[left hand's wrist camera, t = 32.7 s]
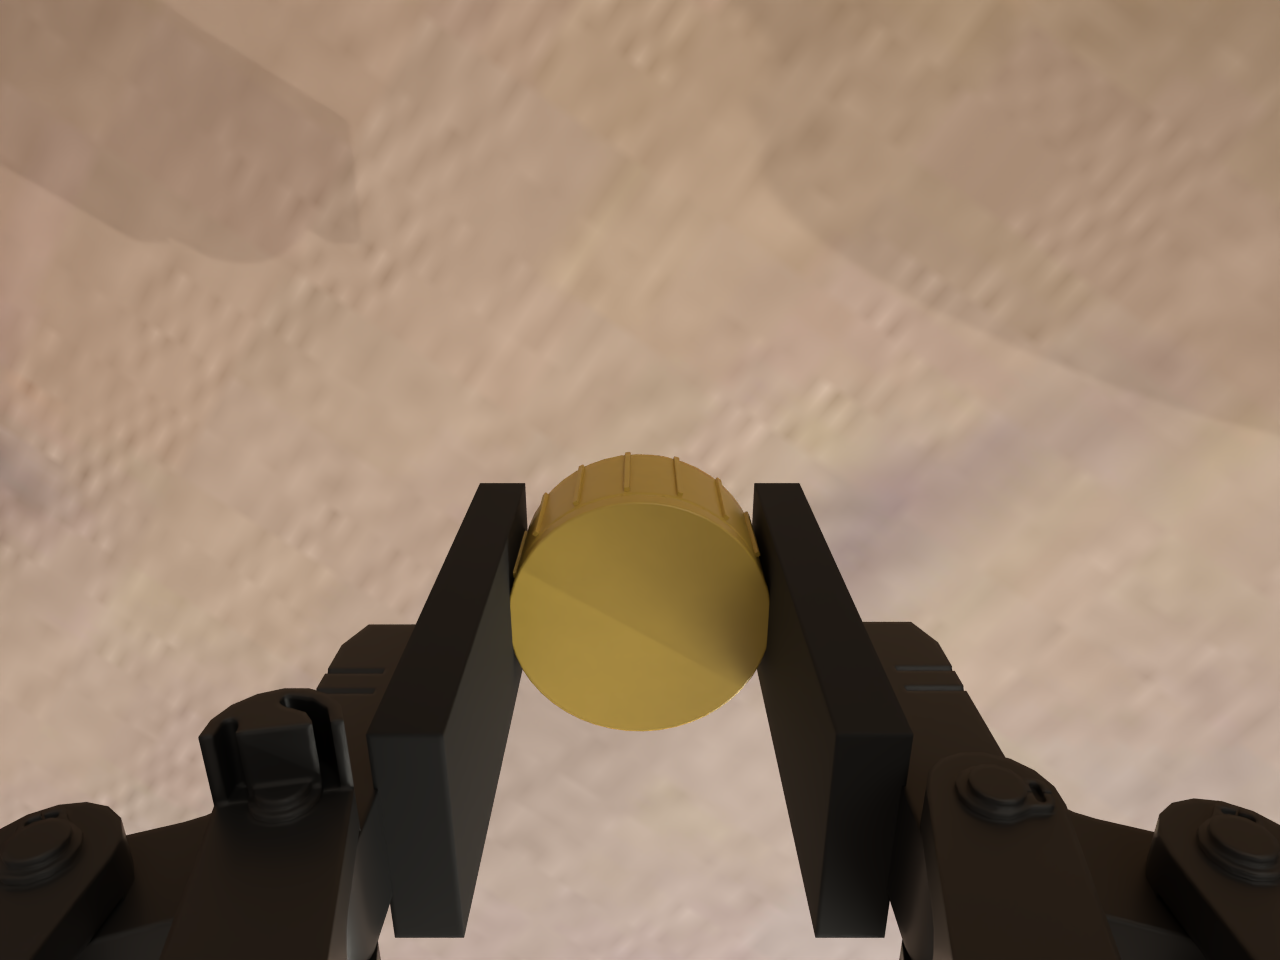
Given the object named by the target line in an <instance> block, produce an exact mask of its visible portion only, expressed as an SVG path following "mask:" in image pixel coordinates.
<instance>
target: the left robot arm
mask: <svg viewBox="0 0 1280 960" xmlns="http://www.w3.org/2000/svg"><path fill="white" fill-rule="evenodd" d="M752 527H753V530H754V534H755V537H756V541H757V544H758V548H759V551H760V555H761V556H759V558H760V562H761V565H762V569H763V573H764V576H765V580H766V583H767V587H768V591H769V617H768V632H767V646H766V651H765V653H764V655H763V658H762V660H761V662H760V664H759V666H758V667H757V672H758V676H759V681H760V685H761V690H762V695H763V699H764V704H765V708H766V713H767V717H768V722H769V727H770V731H771V736H772V740H773V745H774V750H775V754H776V759H777V763H778V768H779V773H780V777H781V782H782V786H783V791H784V796H785V800H786V805H787V809H788V814H789V818H790V823H791V828H792V832H793V837H794V841H795V846H796V851H797V855H798V860H799V864H800V869H801V874H802V878H803V883H804V887H805V892H806V896H807V901H808V906H809V910H810V915H811V919H812V924H813V929H814V933H815V938H884V937H885V930H886V923H887V916H888V909H889V902H891V905H892V908H893V911H894V914H895V918H896V921H897V924H898V927H899V930H900V933H901V936H902V946H901V952H900V959H899V960H1280V825H1279V824H1277V823H1275V822H1273V821H1271V820H1269V819H1267V818H1265V817H1263V816H1261V815H1260V814H1258V813H1256V812H1254V811H1251V810H1248V809H1245V808H1242V807H1238V806H1235V805H1232V804H1229V803H1226V802H1223V801H1214V800H1204V799H1189V800H1184V801H1179V802H1174V803H1171V804H1170V805H1169V806H1168V807H1167V808H1166V809H1165V810H1164V811H1163V812H1161V813H1160V814H1159V818H1158V821H1157V825H1156V828H1155V832H1152V831H1147V830H1143V829H1139V828H1134V827H1130V826H1125V825H1121V824H1117V823H1112V822H1108V821H1103V820H1099V819H1095V818H1092V817H1088V816H1085V815H1082V814H1078V813H1075V812H1072V811H1070V810H1068V809H1067V806H1066V804H1065V803H1064V801H1063V799H1062V798H1061V796H1060V795H1059V793H1058V792H1057V790H1056V788H1055V787H1054V786H1053V785H1052V784H1051V783H1049V782H1048V781H1047V780H1046V779H1044V778H1043V777H1042V776H1041V775H1040V774H1038V773H1037V772H1036V771H1035V770H1033V769H1030V768H1028V767H1026V766H1024V765H1022V764H1020V763H1018V762H1016V761H1014V760H1012V759H1009V758H1005V756H1004V754H1003V753H1002V751H1001V749H1000V748H999V746H998V744H997V742H996V741H995V739H994V737H993V736H992V734H991V732H990V731H989V729H988V727H987V725H986V724H985V722H984V720H983V719H982V717H981V715H980V713H979V712H978V710H977V708H976V707H975V705H974V703H973V701H972V700H971V698H970V696H969V695H968V693H967V691H964V689H963V684H962V683H961V681H960V679H959V678H958V676H957V674H956V672H955V671H952V666H951V664H950V662H949V660H948V659H947V657H946V655H945V654H944V652H943V650H942V648H941V647H940V645H939V643H938V642H937V641H935V640H934V639H933V638H931V637H930V636H929V635H928V634H926V633H925V632H924V631H922V630H921V629H920V628H918V627H917V626H916V625H914V624H913V623H912V622H862V620H861V618H860V615H859V613H858V611H857V609H856V607H855V604H854V602H853V600H852V598H851V596H850V593H849V591H848V589H847V587H846V585H845V583H844V580H843V578H842V576H841V574H840V572H839V569H838V567H837V565H836V563H835V561H834V558H833V556H832V554H831V552H830V550H829V547H828V545H827V543H826V541H825V539H824V536H823V534H822V532H821V530H820V528H819V525H818V523H817V521H816V519H815V517H814V514H813V512H812V510H811V508H810V506H809V503H808V501H807V499H806V497H805V495H804V492H803V490H802V488H801V486H800V484H799V483H754V501H753V520H752ZM525 531H528V530H527V511H526V492H525V483H480V485H479V487H478V489H477V491H476V493H475V496H474V498H473V500H472V502H471V504H470V507H469V509H468V511H467V513H466V515H465V518H464V520H463V522H462V524H461V526H460V528H459V531H458V533H457V535H456V537H455V539H454V542H453V544H452V546H451V548H450V550H449V553H448V555H447V557H446V559H445V561H444V564H443V566H442V568H441V570H440V572H439V575H438V577H437V579H436V581H435V583H434V586H433V588H432V590H431V592H430V594H429V597H428V599H427V601H426V603H425V605H424V608H423V610H422V612H421V614H420V616H419V619H418V621H417V623H416V625H368V626H366V627H365V628H364V629H362V630H361V631H360V632H358V633H357V634H356V635H354V636H353V637H352V638H351V639H349V640H348V641H347V642H345V643H344V644H343V645H342V646H341V647H340V649H339V651H338V653H337V654H336V656H335V658H334V659H333V661H332V663H331V665H330V666H329V668H328V674H325V675H324V677H323V678H322V680H321V682H320V684H319V685H318V687H317V691H316V690H313V689H310V688H284V689H279V690H275V691H270V692H265V693H260V694H257V695H254V696H252V697H249V698H247V699H245V700H242V701H240V702H238V703H235V704H233V705H231V706H230V707H228V708H227V709H226V710H224V711H223V712H221V713H220V714H219V715H217V716H216V717H214V718H213V719H212V720H210V722H209V723H208V725H207V726H206V727H205V729H204V730H203V731H202V733H201V734H200V735H199V737H198V738H199V743H200V747H201V751H202V756H203V760H204V764H205V768H206V773H207V777H208V781H209V786H210V790H211V794H212V799H213V803H214V808H213V811H212V813H211V814H208V815H206V816H203V817H199V818H196V819H193V820H190V821H186V822H183V823H178V824H174V825H170V826H165V827H161V828H157V829H152V830H148V831H143V832H139V833H135V834H130V835H126V834H125V831H124V827H123V824H122V820H121V818H120V817H119V816H118V815H117V814H116V813H115V812H114V811H113V810H112V809H111V808H109V807H108V806H103V805H99V804H94V803H89V802H82V803H72V804H63V805H57V806H54V807H50V808H47V809H44V810H41V811H38V812H35V813H31V814H28V815H26V816H24V817H22V818H20V819H18V820H17V821H15V822H13V823H11V824H9V825H7V826H5V827H3V828H1V829H0V960H381V959H380V952H379V946H378V939H379V935H380V932H381V929H382V926H383V923H384V920H385V917H386V914H387V911H388V908H389V905H390V906H391V913H392V920H393V927H394V934H395V938H464V935H465V931H466V926H467V922H468V917H469V912H470V908H471V903H472V899H473V894H474V889H475V885H476V880H477V876H478V871H479V866H480V862H481V857H482V853H483V848H484V844H485V839H486V834H487V830H488V825H489V821H490V816H491V811H492V807H493V802H494V798H495V793H496V788H497V784H498V779H499V775H500V770H501V766H502V761H503V756H504V752H505V747H506V743H507V738H508V733H509V729H510V724H511V720H512V715H513V710H514V706H515V701H516V697H517V692H518V688H519V683H520V678H521V674H522V667H521V665H520V663H519V661H518V659H517V657H516V655H515V653H514V649H513V641H512V626H511V610H510V592H511V589H512V585H513V582H514V577H513V571H514V567H515V564H516V560H517V557H518V553H519V550H520V546H521V543H522V539H523V536H524V532H525Z"/></svg>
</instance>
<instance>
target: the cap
mask: <svg viewBox="0 0 1280 960" xmlns="http://www.w3.org/2000/svg"><path fill="white" fill-rule="evenodd" d="M759 556H761V555H760V551H759V548H758V544H757V541H756V537H755V534H754V530H753V527H752V523H751V520H750V516H749V514H748V512H745V513H744V512H743V510H742V508H741V507H740V505H739V504H738V503H737V501H736V500H735V499H734V497H733V496H732V495H731V494H730V493H729V492H728V491H727V490H726V489H725V488H724V486H723V485H722V483H721V480H720V479H719V478H716V479H714V478H713V477H711V476H710V475H708V474H706V473H705V472H703V471H701V470H700V469H698V468H696V467H694V466H691V465H689V464H687V463H684V462H682V461H679V458H678V457H674V459H671V458H668V457H664V456H656V455H639V454H635V455H631V453H630V452H626V453H625V455H624V456H623V455H621V456H617V457H612V458H608V459H604V460H601V461H598V462H595V463H592V464H589V465H588V466H585V467H584V465H581V466H579V469H578V471H576V472H574V473H573V474H571V475H570V476H568V477H567V478H565V479H564V480H563V481H562V482H560V483H559V484H558V485H557V486H556V487H555V488H554V489H553V490H552V491H551V492H550V493H549V494H547V493H545V494H544V495H543V497H542V501H541V505H540V506H539V508H538V509H537V511H536V512H535V514H534V517H533V519H532V521H531V523H530V525H529V529H528V531H525V532H524V536H523V539H522V543H521V546H520V550H519V553H518V557H517V560H516V564H515V567H514V571H513V577H514V582H513V585H512V589H511V592H510V610H511V626H512V641H513V649H514V653H515V655H516V657H517V659H518V661H519V663H520V665H521V667H522V669H523V671H524V672H525V674H526V675H527V676H528V678H529V679H530V681H531V682H532V683H533V684H534V685H535V687H536V688H537V689H538V690H539V691H540V692H541V693H542V694H543V695H544V696H545V697H547V698H548V699H549V700H550V701H551V702H552V703H554V704H555V705H557V706H558V707H560V708H561V709H563V710H564V711H566V712H568V713H569V714H571V715H573V716H575V717H577V718H579V719H582V720H584V721H587V722H590V723H592V724H595V725H599V726H603V727H607V728H611V729H618V730H625V731H653V730H662V729H667V728H673V727H677V726H680V725H684V724H687V723H690V722H693V721H695V720H697V719H700V718H702V717H704V716H706V715H708V714H710V713H711V712H713V711H715V710H717V709H718V708H720V707H721V706H723V705H724V704H725V703H727V702H728V701H729V700H731V699H732V698H733V697H734V696H735V695H736V694H737V693H738V692H739V691H740V690H741V689H742V688H743V687H744V686H745V685H746V683H747V682H748V681H749V680H750V678H751V677H752V676H753V674H754V672H755V671H756V669H757V667H758V666H759V664H760V662H761V660H762V658H763V655H764V653H765V651H766V646H767V632H768V617H769V591H768V587H767V583H766V580H765V576H764V573H763V569H762V565H761V562H760V558H759Z"/></svg>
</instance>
